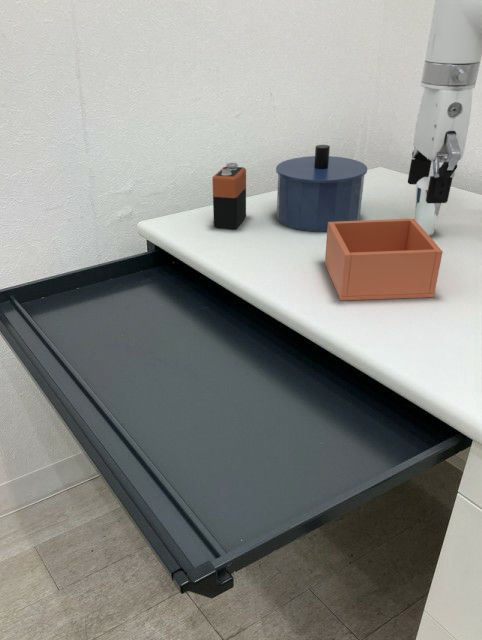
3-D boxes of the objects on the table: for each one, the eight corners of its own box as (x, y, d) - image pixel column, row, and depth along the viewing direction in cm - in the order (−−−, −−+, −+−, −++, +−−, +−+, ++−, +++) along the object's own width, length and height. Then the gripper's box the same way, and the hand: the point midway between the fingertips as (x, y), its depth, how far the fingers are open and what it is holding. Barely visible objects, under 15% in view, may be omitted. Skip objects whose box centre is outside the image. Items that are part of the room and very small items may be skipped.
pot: (349, 203, 114) (354, 157, 109) (367, 230, 102) (373, 180, 97) (273, 206, 114) (274, 161, 110) (282, 233, 102) (283, 184, 98)
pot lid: (355, 160, 110) (358, 134, 108) (376, 184, 97) (380, 155, 95) (271, 163, 110) (272, 138, 108) (281, 188, 98) (282, 159, 95)
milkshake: (408, 238, 98) (418, 177, 92) (409, 227, 102) (418, 168, 97) (437, 240, 97) (449, 178, 91) (437, 229, 101) (448, 169, 95)
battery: (246, 217, 110) (246, 161, 104) (236, 230, 104) (236, 172, 99) (224, 215, 111) (223, 160, 105) (212, 228, 106) (211, 171, 100)
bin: (407, 260, 91) (414, 218, 87) (433, 297, 80) (443, 251, 77) (324, 263, 91) (327, 221, 87) (340, 300, 81) (345, 255, 77)
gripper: (500, 84, 79) (469, 210, 89) (454, 66, 93) (432, 177, 103) (443, 85, 79) (419, 211, 89) (406, 67, 93) (389, 177, 103)
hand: (426, 192), depth 96 cm, fingers open, 9 cm apart
